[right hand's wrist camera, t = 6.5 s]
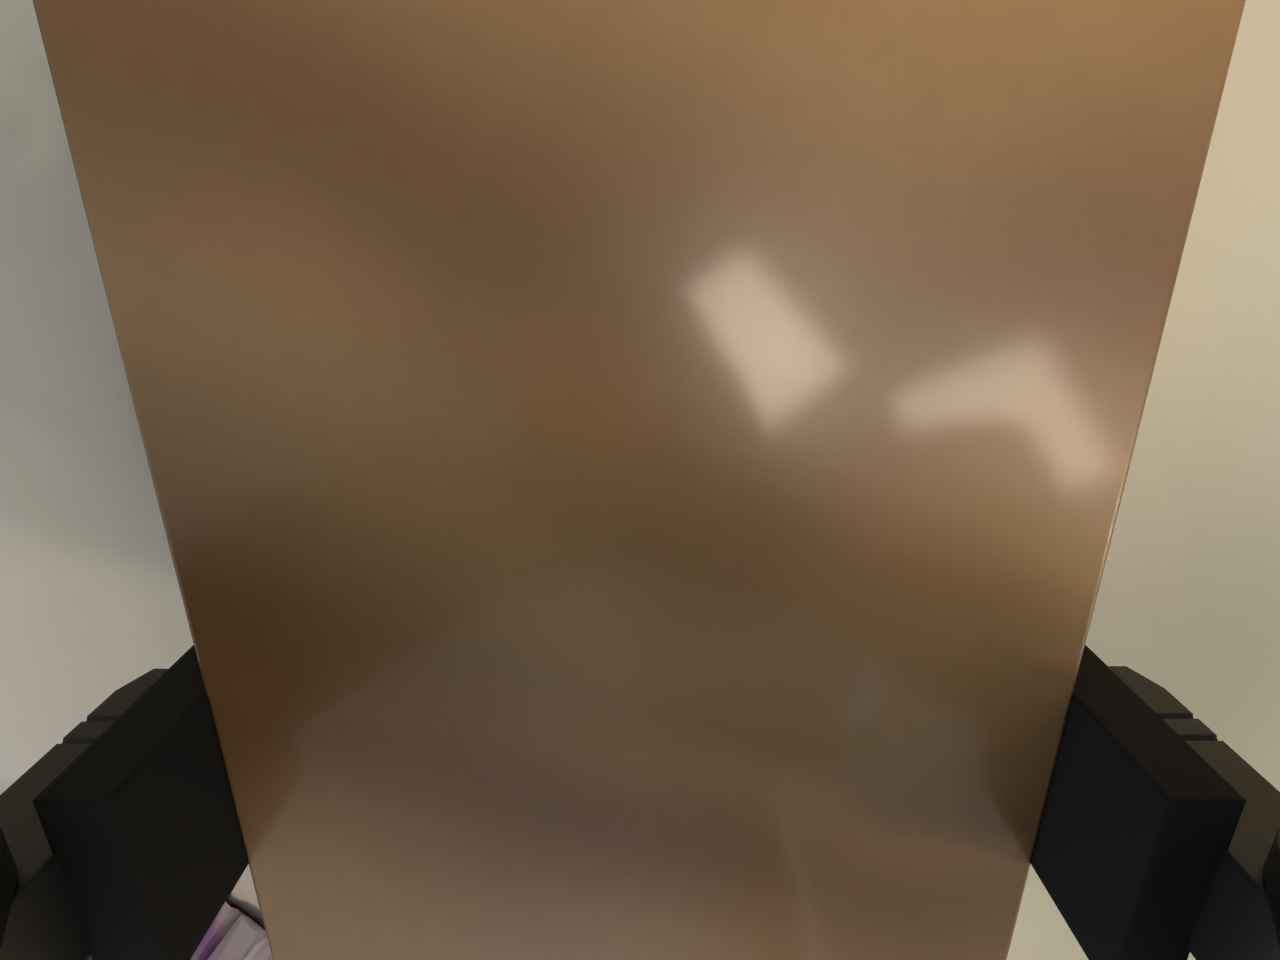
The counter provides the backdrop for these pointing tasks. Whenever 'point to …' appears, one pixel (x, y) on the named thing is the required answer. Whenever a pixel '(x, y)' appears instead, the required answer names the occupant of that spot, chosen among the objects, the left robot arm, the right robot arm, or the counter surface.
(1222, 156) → the counter surface
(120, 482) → the counter surface
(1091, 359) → the cabinet
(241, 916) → the figurine
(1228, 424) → the counter surface
